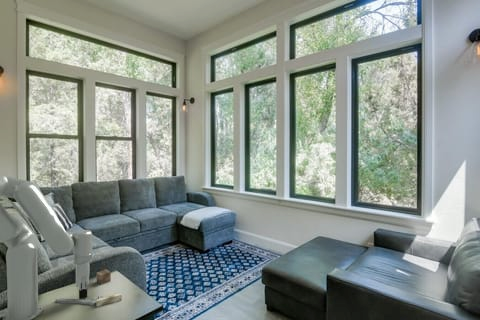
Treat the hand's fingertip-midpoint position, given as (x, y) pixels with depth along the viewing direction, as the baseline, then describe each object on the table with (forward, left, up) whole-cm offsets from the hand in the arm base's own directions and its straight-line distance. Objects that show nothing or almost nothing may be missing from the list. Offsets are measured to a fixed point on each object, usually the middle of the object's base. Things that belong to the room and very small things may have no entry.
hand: (83, 297), depth 118 cm
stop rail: (+10, -10, -1) cm, 14 cm away
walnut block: (+9, +14, -1) cm, 17 cm away
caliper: (-1, +2, 0) cm, 2 cm away
